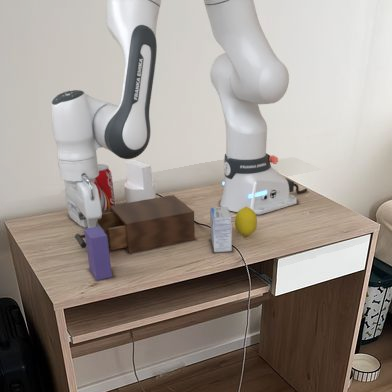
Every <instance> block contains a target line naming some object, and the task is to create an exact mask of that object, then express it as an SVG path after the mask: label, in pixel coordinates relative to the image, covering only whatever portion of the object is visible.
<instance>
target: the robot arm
mask: <svg viewBox="0 0 392 392" xmlns="http://www.w3.org/2000/svg"><path fill="white" fill-rule="evenodd" d="M203 4H204V6H205V10H206V14H207V17H208V22H209V24H210V28H211V32H212V35H213V37H214V39H215V41H216V42H217V44H218V45H220V47H221V48H222V49H223V51H224V53H221V54H220V55H218V56H217V57H215V59H214V60H213V62H212V64H211V67H210V70H209V71H210V72H209V76H210V82H211V85H212V86H213V88H214V89H215V91H216V92H217V95H218V98H219V101H220V104H221V109H222V112H223V119H224V124H225V154H224V161H223V172H224V173H223V174H224V181H222V184H221V185H222V186H223V191H222V195H221V198H220V203H219V205H220V207H228V210H229V212H235V213H238V211H239V210H240V209H242V208H245V207H248V208H250V209H252V210H253V211H254V212H255V214H256V216H257V215H263V214H267V213H270V212H273V211H278V210H281V209H284V208H287V207H290V206H293V205H296V204H298V200H297V197H296V196H295V195H294V194H293V192H294V187H295V192H296V194H303V193H306V192H308V188H303V189H302V190H300V187H299V185H298V184H297V183H295V181H293V180H290V179H289V178H286V177H285V176H284V175H283V174H281V173H279V172H278V170H276V169H275V168H273V167H272V165H271V164H273V165H276V164H278V162H279V158H278V156H276V155H274V154H273V155H270V154H268V153H267V141H268V140H267V137H268V124H267V122H266V120H265V118H264V116H263V115H262V112H261V110H260V105H269V104H275V103H277V102H279V101H280V100H281V99H283V98H284V96H285V94H286V93H287V90H288V88H289V84H290V74H289V70H288V68H287V66H286V65H285V63H283V62H282V61H281V60H280V59H279V57H278V56H277V55H276V53H275V52H274V50H273V48H272V47H271V44H270V42H269V41H268V38H267V37H266V34H265V33H264V31H263V28H262V26H261V23H260V20H259V17H258V14H257V10H256V6H255V2H254V0H203ZM161 5H162V0H106V8H105V24H106V27H107V29H108V32H109V33H110V35H111V37H112V38H113V40H115V41H116V43H117V44H118V46H119V47H120V49H121V52H122V54H123V57H124V72H123V81H122V88H121V95H120V102H119V104H114V103H111V102H107V101H103V100H100V99H97V98H95V97H93V96H90V95H89V94H87V93H86V92H85V91H83V90H80V89H73V90H66V91H63V92H61V93H59V94H57V95H56V96H55V97H54V98H53V99H52V101H51V104H50V118H51V126H52V133H53V139H54V141H55V143H56V146H57V147H56V148H57V153H56V156H57V157H56V159H57V165H58V169H59V175H60V178H61V180H63V181H64V185H65V189H66V190H67V193H68V195H69V197H70V198H71V199H72V201H73V202H74V203H75V206H76V209H77V212H78V218H79V219H80V220H85V219H87V223H88V225H87V227H86V228H91V227H96V222H97V219H101V218H102V213H103V212H102V209H101V203H100V198H99V193H98V189H97V187H96V185H95V184H94V182H95V181H94V178H96V177H97V176H98V175H99V171H98V164H99V163H98V156H97V150H98V149H100V148H103V149H106V150H108V151H110V152H111V153H113V154H114V155H115V156H117V157H119V158H121V159H124V160H133V159H135V158H138V157H139V156H140V155H141V154H142V153H144V151H145V150H146V149H147V147H148V145H149V143H150V139H151V120H150V108H151V107H150V106H151V99H152V93H153V86H154V85H153V84H154V77H155V70H156V63H157V62H156V61H157V48H158V47H157V44H158V43H157V26H158V18H159V14H160V8H161Z"/></svg>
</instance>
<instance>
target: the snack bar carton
mask: <svg viewBox="0 0 392 392" xmlns="http://www.w3.org/2000/svg"><path fill="white" fill-rule="evenodd" d="M83 232H84V233H83V235H84V234H85V238H84V239H85V240H84V241H85V243H86V247H85V248H86V254H87V260H88V266H89V270H90V273H92V275H93V277H94V279H95V280H96V281H100V280H104V279H109V278H113V272H112V265H111V257H110V247H109V246H108V239H107V235H106V234H105V232H104V231H103V230H102V229H101V227H100V226H97V227H91V228H88V227H86V228H83Z"/></svg>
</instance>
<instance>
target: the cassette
mask: <svg viewBox="0 0 392 392" xmlns="http://www.w3.org/2000/svg"><path fill="white" fill-rule="evenodd" d="M64 193H65V194H64V195H65V200H66V201H65V202H66V206H67V212H68V213H67V214H68V216H69V218H70V219H71V220H73V221H74V222H75V223H77V224H78V225H79V226H80V227H83V229H86V228H88V227H87V219H85V220H80V219H79V218H78V212H77V209H76V206H75V203H74V202H73V201H72V199H71V198H70V197H69V195H68V193H67V190H66V188H64Z"/></svg>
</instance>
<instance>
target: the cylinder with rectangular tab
mask: <svg viewBox="0 0 392 392" xmlns="http://www.w3.org/2000/svg"><path fill="white" fill-rule="evenodd" d="M124 164H125V174H126V182H125V183H124V185H123V189H124V190H123V191H124V201H125V203H130V202H136V201H141V200H147V199H153V198H157V193H156V192H157V190H156V182H155V181H153V176H152V175H153V174H152V165H151V164H148V163H145V162H142V161H139V160H137V159H135V158H132V159H127V160H125V161H124Z"/></svg>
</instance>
